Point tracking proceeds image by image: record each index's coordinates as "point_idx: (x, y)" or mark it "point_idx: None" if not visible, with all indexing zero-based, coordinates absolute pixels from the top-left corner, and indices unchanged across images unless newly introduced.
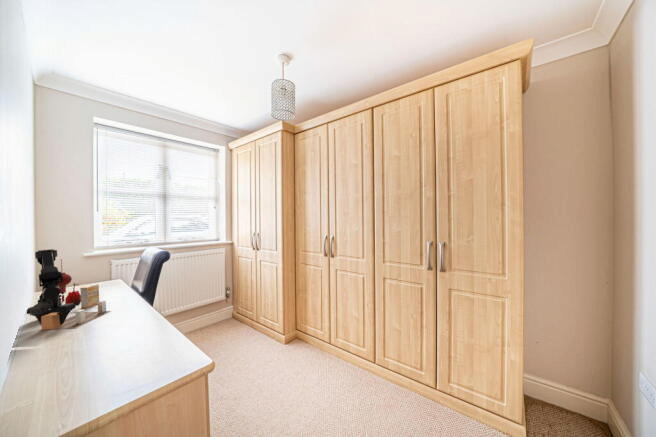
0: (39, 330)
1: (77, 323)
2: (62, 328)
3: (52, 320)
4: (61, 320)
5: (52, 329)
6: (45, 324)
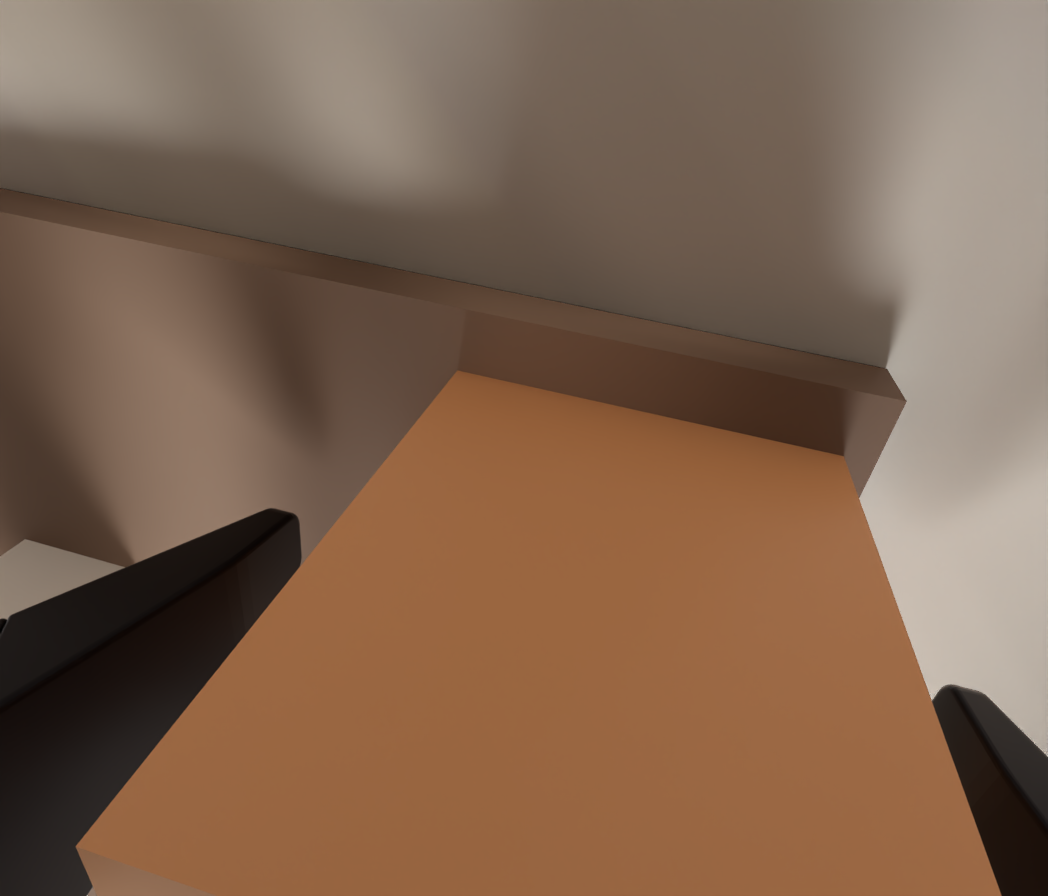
0: (895, 410)
1: (104, 562)
2: (162, 313)
3: (287, 586)
4: (107, 580)
5: (438, 338)
6: (691, 539)
